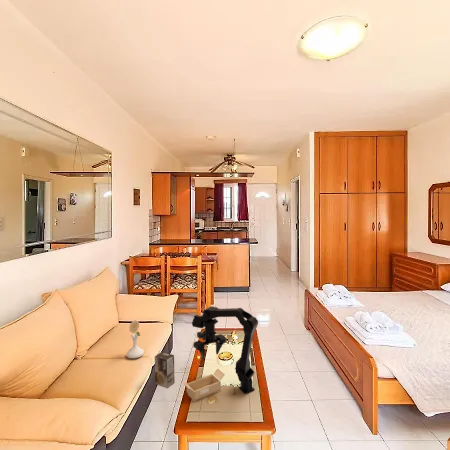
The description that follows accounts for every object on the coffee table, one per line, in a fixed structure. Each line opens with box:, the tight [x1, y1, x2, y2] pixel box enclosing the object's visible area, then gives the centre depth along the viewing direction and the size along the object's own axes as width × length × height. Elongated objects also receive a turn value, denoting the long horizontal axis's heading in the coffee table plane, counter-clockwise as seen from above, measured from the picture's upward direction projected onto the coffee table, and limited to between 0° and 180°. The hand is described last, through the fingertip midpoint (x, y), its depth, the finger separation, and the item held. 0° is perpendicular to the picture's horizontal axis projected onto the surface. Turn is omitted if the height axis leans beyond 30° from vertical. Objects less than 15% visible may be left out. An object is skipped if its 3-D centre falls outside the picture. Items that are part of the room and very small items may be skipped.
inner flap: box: [212, 368, 225, 381], centre depth 164 cm, size 7×4×1 cm
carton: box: [186, 374, 222, 402], centre depth 158 cm, size 9×16×5 cm, turn 124°
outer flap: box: [181, 381, 193, 390], centre depth 153 cm, size 7×4×1 cm
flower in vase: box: [125, 319, 145, 359], centre depth 197 cm, size 13×11×25 cm
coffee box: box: [154, 351, 176, 389], centre depth 166 cm, size 9×6×16 cm
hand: (210, 356), depth 170 cm, fingers open, 9 cm apart
